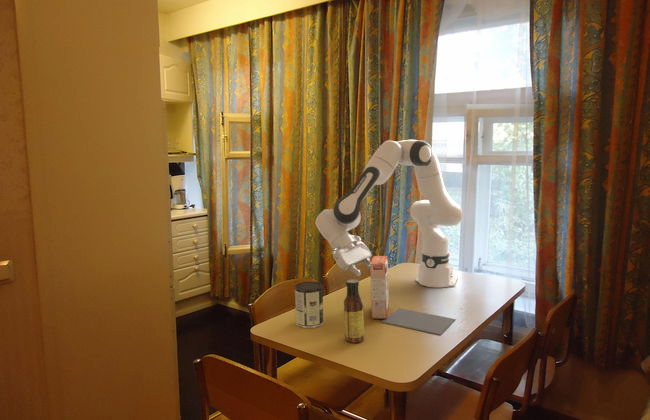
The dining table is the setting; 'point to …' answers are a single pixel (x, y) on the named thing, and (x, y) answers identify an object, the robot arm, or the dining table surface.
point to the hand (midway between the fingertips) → (365, 272)
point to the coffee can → (309, 304)
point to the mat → (419, 321)
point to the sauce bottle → (353, 313)
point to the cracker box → (379, 287)
